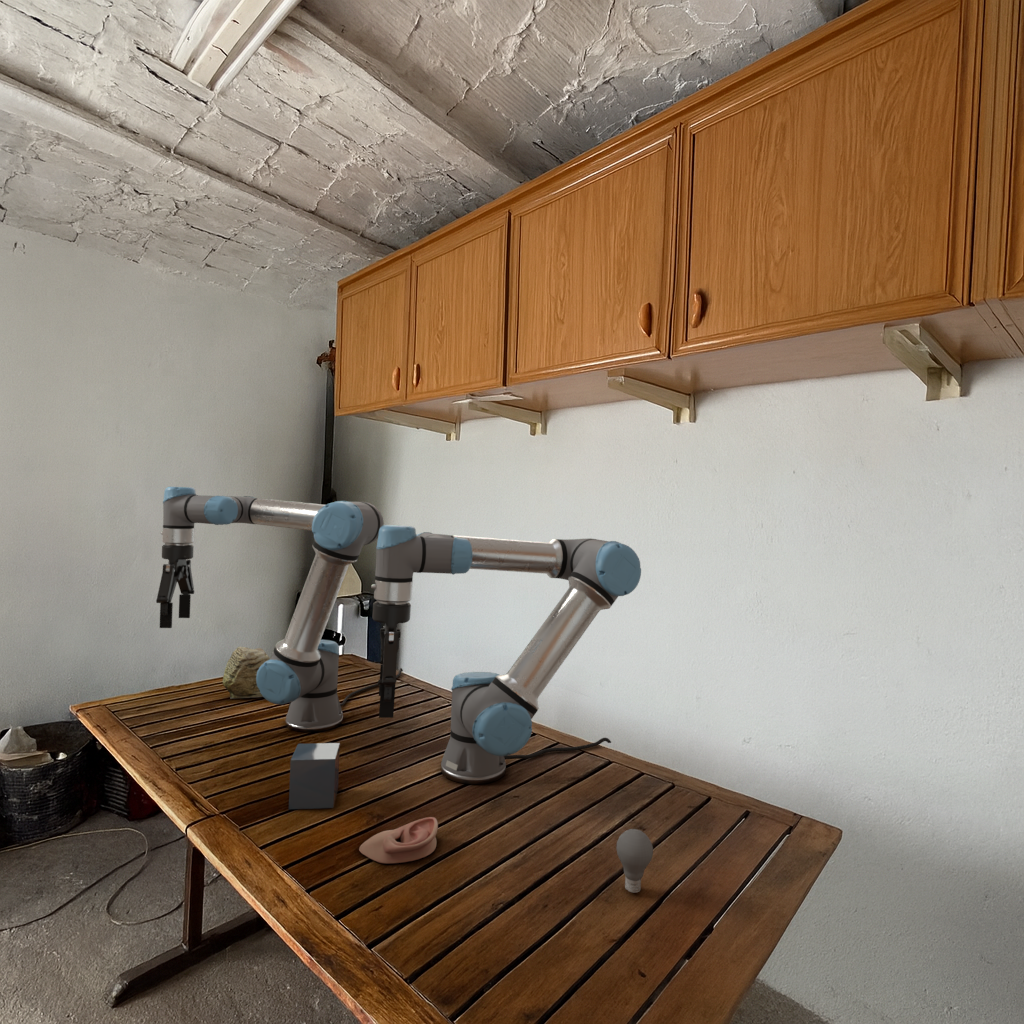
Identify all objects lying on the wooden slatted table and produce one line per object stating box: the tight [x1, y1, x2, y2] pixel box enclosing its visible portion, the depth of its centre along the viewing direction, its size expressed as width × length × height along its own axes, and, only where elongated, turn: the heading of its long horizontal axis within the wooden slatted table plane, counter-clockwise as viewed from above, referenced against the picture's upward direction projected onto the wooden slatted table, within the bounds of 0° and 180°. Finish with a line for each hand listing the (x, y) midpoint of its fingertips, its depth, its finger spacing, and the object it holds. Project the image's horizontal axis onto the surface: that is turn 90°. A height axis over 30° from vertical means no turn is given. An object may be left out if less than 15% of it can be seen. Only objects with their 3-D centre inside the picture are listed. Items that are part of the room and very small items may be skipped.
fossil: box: [222, 646, 271, 699], centre depth 198 cm, size 9×18×15 cm, turn 132°
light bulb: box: [615, 828, 654, 894], centre depth 106 cm, size 6×6×10 cm
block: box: [288, 742, 341, 810], centre depth 133 cm, size 8×9×10 cm
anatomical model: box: [358, 816, 439, 864], centre depth 116 cm, size 13×4×12 cm
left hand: (175, 622), depth 171 cm, fingers open, 13 cm apart
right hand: (385, 705), depth 128 cm, fingers open, 13 cm apart
